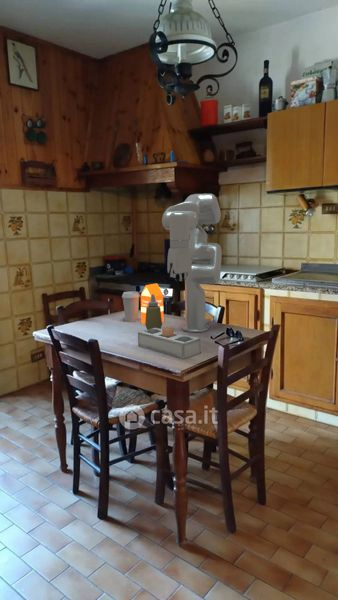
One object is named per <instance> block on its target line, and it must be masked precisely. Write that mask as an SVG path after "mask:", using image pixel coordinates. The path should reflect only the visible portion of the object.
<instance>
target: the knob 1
mask: <svg viewBox="0 0 338 600" xmlns="http://www.w3.org/2000/svg"><path fill="white" fill-rule="evenodd" d="M146 330H147V329H146ZM158 332H159V330H158V329H149V330H147V333H151V334H155V333H158Z"/></svg>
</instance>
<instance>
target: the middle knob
mask: <svg viewBox="0 0 338 600" xmlns="http://www.w3.org/2000/svg"><path fill="white" fill-rule="evenodd" d="M161 329H162V337H166V338H170V337H173V336H174V332H175V328H174V326H163V327H161Z"/></svg>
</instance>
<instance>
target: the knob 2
mask: <svg viewBox="0 0 338 600" xmlns="http://www.w3.org/2000/svg"><path fill="white" fill-rule="evenodd" d="M178 341H182V342H187V341H190V337H186V336H183V337H179V338H178Z"/></svg>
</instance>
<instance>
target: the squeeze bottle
mask: <svg viewBox="0 0 338 600" xmlns="http://www.w3.org/2000/svg"><path fill="white" fill-rule="evenodd" d="M144 325H145V328H146V330H148V329H152V328H159V329H162V328H163V327H162V326H163V322H162V318H161V310H160V307H159V306H158V302H157V301H156V300H155V296H154V294H152V295H151V301H150V302H148V307H147V308H146V321H145V324H144Z"/></svg>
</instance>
